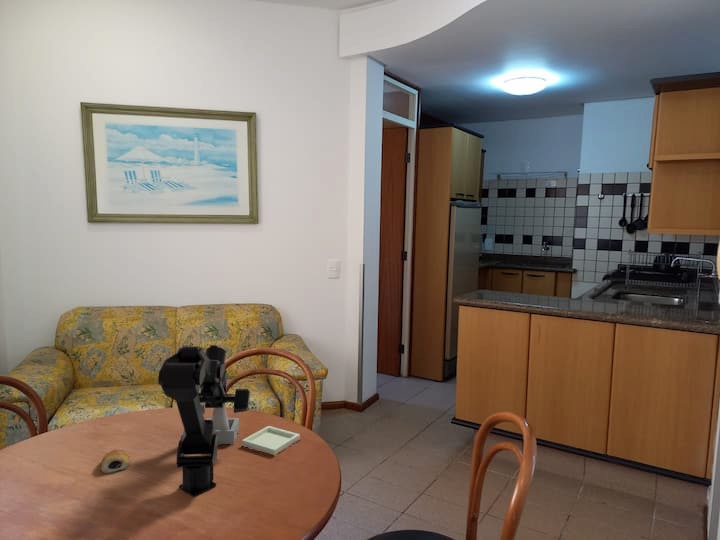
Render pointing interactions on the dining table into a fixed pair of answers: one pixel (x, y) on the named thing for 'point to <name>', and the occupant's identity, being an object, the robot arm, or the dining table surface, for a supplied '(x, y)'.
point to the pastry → (115, 461)
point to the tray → (270, 440)
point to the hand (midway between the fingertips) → (220, 412)
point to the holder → (228, 432)
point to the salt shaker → (220, 418)
